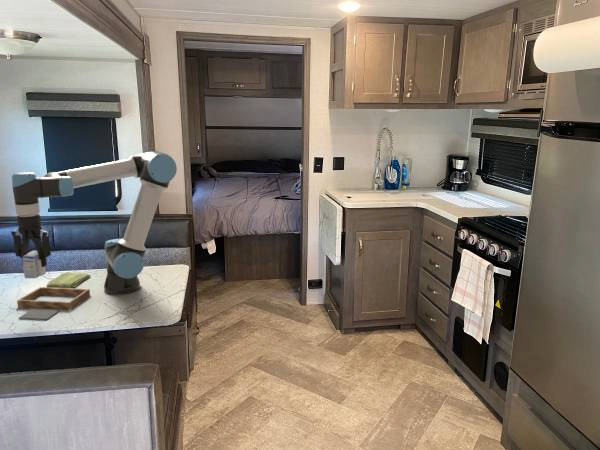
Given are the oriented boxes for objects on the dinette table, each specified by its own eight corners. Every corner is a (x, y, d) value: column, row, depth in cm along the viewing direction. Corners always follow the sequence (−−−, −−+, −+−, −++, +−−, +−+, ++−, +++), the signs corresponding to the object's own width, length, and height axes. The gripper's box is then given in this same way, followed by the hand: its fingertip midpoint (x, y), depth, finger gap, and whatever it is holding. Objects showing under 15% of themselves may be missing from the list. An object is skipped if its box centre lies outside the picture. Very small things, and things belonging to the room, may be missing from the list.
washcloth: (92, 277, 216) (91, 271, 216) (72, 290, 199) (72, 284, 199) (65, 276, 217) (65, 270, 216) (44, 289, 200) (43, 283, 199)
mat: (60, 310, 178) (60, 309, 178) (47, 320, 169) (46, 318, 169) (34, 309, 178) (34, 307, 178) (19, 319, 170) (19, 317, 169)
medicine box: (35, 271, 174) (32, 250, 172) (47, 271, 174) (44, 250, 172) (24, 278, 166) (21, 256, 164) (36, 278, 166) (33, 256, 164)
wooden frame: (90, 295, 193) (89, 289, 192) (70, 309, 178) (70, 302, 178) (41, 293, 194) (40, 287, 194) (17, 307, 180) (17, 300, 179)
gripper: (57, 213, 168) (64, 271, 173) (12, 211, 169) (19, 270, 174) (45, 217, 160) (52, 278, 166) (-3, 216, 161) (6, 276, 167)
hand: (35, 274), depth 170 cm, fingers closed on medicine box, 5 cm apart
